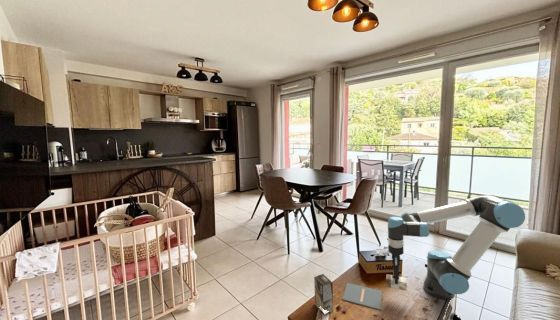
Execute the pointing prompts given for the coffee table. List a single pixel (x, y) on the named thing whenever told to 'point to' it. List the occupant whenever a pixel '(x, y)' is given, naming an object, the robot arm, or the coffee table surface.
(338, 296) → the coffee table surface
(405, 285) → the cream block
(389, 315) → the coffee table surface
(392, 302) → the coffee table surface
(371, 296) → the mat
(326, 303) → the coffee box
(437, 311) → the coffee table surface
